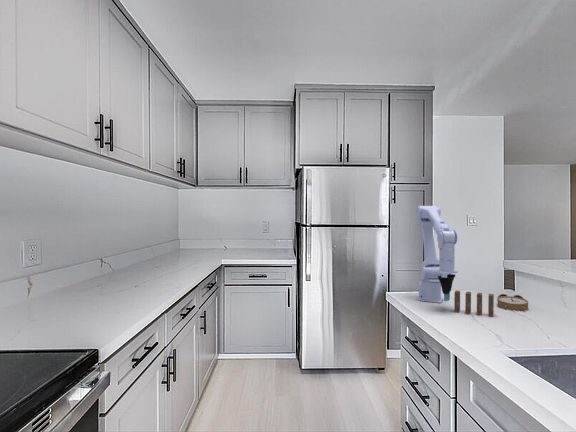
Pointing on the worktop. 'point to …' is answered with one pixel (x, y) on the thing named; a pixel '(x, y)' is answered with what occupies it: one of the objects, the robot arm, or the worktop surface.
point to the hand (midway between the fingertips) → (446, 292)
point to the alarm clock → (512, 302)
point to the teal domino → (447, 297)
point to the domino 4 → (491, 305)
